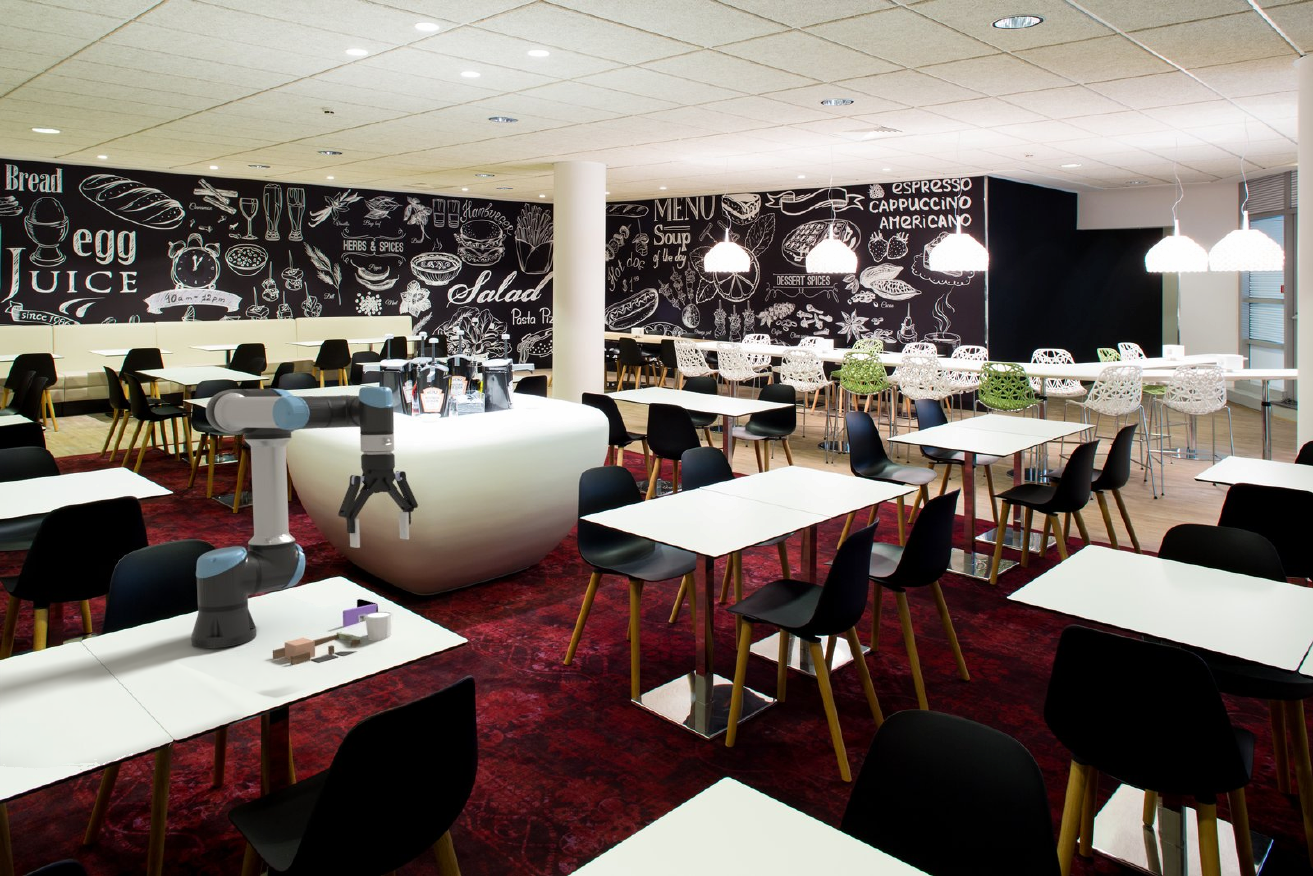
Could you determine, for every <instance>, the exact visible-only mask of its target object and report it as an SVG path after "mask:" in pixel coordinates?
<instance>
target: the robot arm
mask: <svg viewBox="0 0 1313 876" xmlns="http://www.w3.org/2000/svg"><path fill="white" fill-rule="evenodd" d="M358 391H359V392H358V395H348V394H346V395H345V394H344V395H341V394H340V395H320V396H317V395H316V396H315V395H313V396H309V395H308V396H305V395H303V396H297V395H293V394H292V393H291V392H290V391H288V390H285V389H280V388H271V387H270V388H249V389H248V388H246V389H245V388H243V389H239V388H238V389H237V388H236V389H235V388H234V389H233V388H231V389H227V390H222V391H220V392H218V393H216V394H214V395H213V396H212V397H210V399H209V400H208V402H207V404H206V408H205V416H206V419H207V421H208V423H209V424H210V425H211V427H213V428H214V429H215V430H217V431H219V432H221V433H226V434H234V435H242V434H243V436H244V441H245V442H246V443H247V445H249V446H250V454H251V455H250V457H251V461H250V462H251V463H250V464H251V485H252V488H251V489H252V509H253V512H252V513H253V516H252V517H253V536H252V537H251V539H249V540H248V542H247V543H248V550H246V547H244V546H240V545H239V546H238V545H237V546H236V545H235V546H229V547H222V548H216V549H213V550H210V551H207V552H205V553H203V554H201V555H200V556H199V557H198V558H197V561H196V571H195V576H196V588H197V589H196V590H197V609H198V610H197V617H196V620H195V623H194V626H193V630H192V633H191V645H192V646H193V647H196V648H203V649H205V648H206V649H209V648H210V649H211V648H212V649H213V648H215V649H216V648H226V647H232V646H238V645H241V644H245V643H248V642H251V641H252V640H254V639H256V637H257V626H256V624H255V622H254V620H253V617H252V614H251V612H250V609H249V599H248V597H249V596H252V595H256V594H262V593H267V592H271V591H272V592H273V591H282V590H284V589H287V588H291V587H294V586H296V585H297V584H298V583H299V582H300V580H301V579H302V578H303V575H304V573H305V568H306V555H305V553H303V552H304V550H303V548H302V546H300V545H299V544H298V543H296V538H295V537H294V536H292V535H291V534H290V531H289V529H290V528H289V503H288V500H289V498H288V475H287V474H288V472H287V469H288V468H287V444H288V443H289V442H290V441H291V440H292V433H293V432H295V431H299V430H310V429H330V428H331V429H333V428H334V429H335V428H336V429H337V428H359V432H360V434H359V435H360V439H359V440H360V451H361V453H362V454H361V455H360V468H361V470H362V474H361V475H354V474H353V475H352V474H351V475H350V476H349V484H348V485H349V486H348V488H347V490H346V492H345V495H344V498H343V501H342V503H341V506H340V508H339V510H338V513H337V515H338V517H340V518H343V519H346V520H345V521H346V533H348V534H349V543H350V544H349V547H350V548H357V549H358V548H359V549H360V548H361V535H360V534H361V531H360V518H357V517H358V515H359V514H360V512H361V510H362V509H363V507H364V506H365V504H366V502H367V501H368V499H370V497H371V496H372V495H373V494H379V493H388V495H389V496H390V497H391V499H392V500H393V501H394V503H396V505H397V506H398V507H399V509H400V510H401V511H398V525H399V526H398V527H399V528H398V529H399V530H398V531H399V539H401V540H410V525H411V523H412V512H414V511H415V510H414V509H417V508H418V507H419V504H418V502H417V499H416V498H415V496H414V492H413V490H412V489H411V487H410V485H409V482H408V480H407V474H406V471H405V470H404V471H401V470H396V471H395V470H394V469H395V467H396V465H395V464H396V463H395V462H396V460H395V459H396V458H395V457H396V456H395V454H394V453H392V452H394V451H395V435H394V433H395V432H394V430H395V429H394V422H395V421H394V405H395V403H394V399H393V398H394V397H393V391H392V389H391V388H390V387H388V386H364V387H363V386H362V387H360V388H359V390H358ZM394 481H396V484H397V486H396V485H395V483H394ZM362 484H363V485H362ZM361 485H362V487H361ZM398 488H399V490H400V491H399V490H398ZM400 492H401V493H400Z"/></svg>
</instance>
